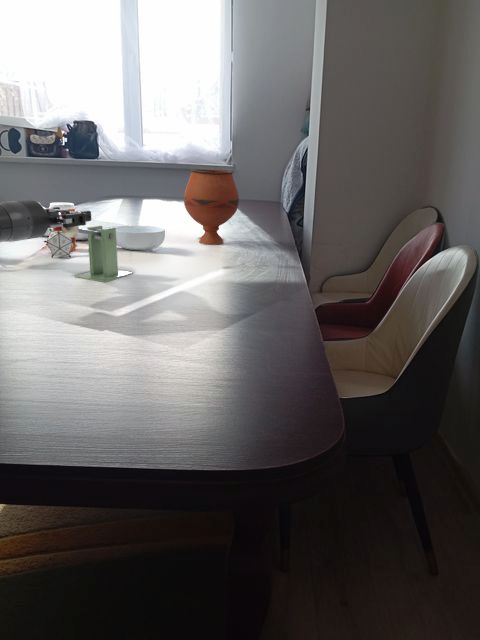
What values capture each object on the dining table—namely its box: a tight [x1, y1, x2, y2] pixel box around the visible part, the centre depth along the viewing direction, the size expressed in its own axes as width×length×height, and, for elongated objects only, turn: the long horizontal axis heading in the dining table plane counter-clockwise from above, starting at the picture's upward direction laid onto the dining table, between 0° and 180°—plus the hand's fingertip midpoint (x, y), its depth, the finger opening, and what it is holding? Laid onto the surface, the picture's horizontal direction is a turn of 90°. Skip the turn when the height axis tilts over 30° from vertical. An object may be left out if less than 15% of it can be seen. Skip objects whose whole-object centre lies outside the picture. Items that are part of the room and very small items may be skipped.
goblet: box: [183, 168, 240, 246], centre depth 182 cm, size 19×19×25 cm
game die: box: [43, 228, 77, 258], centre depth 149 cm, size 9×8×10 cm
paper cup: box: [48, 201, 77, 252], centre depth 158 cm, size 8×8×14 cm
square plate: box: [42, 219, 131, 241], centre depth 186 cm, size 27×27×4 cm
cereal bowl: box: [115, 225, 166, 253], centre depth 164 cm, size 17×17×7 cm
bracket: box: [74, 225, 133, 283], centre depth 126 cm, size 11×9×13 cm
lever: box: [62, 226, 102, 240], centre depth 119 cm, size 14×4×4 cm, turn 158°
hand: (74, 213), depth 115 cm, fingers open, 8 cm apart
